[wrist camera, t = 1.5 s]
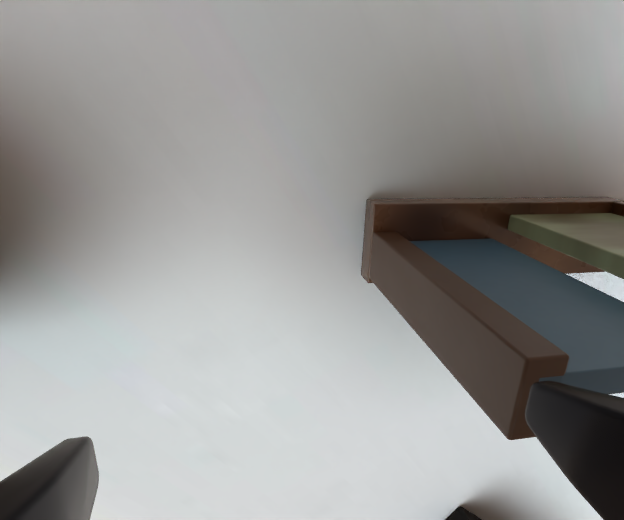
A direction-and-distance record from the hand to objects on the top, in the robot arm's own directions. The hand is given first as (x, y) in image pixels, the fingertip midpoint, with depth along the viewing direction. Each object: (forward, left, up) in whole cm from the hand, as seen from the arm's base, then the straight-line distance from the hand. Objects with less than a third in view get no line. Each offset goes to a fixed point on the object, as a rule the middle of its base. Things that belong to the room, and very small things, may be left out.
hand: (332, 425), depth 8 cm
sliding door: (+7, +4, -12) cm, 14 cm away
